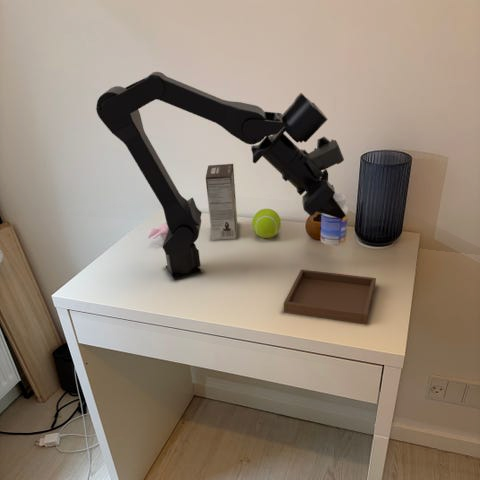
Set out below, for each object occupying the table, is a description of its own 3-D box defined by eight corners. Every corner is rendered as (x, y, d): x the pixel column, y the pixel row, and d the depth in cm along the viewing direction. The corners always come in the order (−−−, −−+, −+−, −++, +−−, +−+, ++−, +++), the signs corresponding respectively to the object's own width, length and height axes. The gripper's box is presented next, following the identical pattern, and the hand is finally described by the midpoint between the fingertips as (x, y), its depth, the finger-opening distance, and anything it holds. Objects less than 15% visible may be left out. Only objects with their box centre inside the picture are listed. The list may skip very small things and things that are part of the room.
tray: (283, 312, 93) (283, 302, 92) (300, 277, 103) (300, 269, 102) (365, 324, 88) (366, 314, 87) (375, 286, 98) (376, 277, 97)
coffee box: (213, 225, 128) (207, 164, 119) (237, 224, 128) (233, 163, 119) (211, 240, 121) (205, 176, 111) (237, 239, 120) (232, 175, 111)
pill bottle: (345, 247, 101) (348, 202, 95) (319, 245, 102) (321, 201, 97) (346, 236, 105) (350, 192, 100) (321, 234, 106) (323, 191, 101)
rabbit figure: (177, 228, 131) (141, 242, 119) (176, 206, 128) (139, 218, 117) (196, 232, 128) (161, 247, 117) (196, 209, 126) (159, 222, 114)
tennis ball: (253, 230, 124) (252, 204, 120) (281, 230, 123) (280, 203, 119) (252, 242, 118) (250, 215, 114) (280, 242, 117) (280, 215, 113)
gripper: (325, 141, 83) (383, 200, 89) (314, 116, 98) (363, 168, 104) (279, 188, 88) (336, 241, 94) (275, 157, 103) (325, 204, 109)
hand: (341, 211), depth 100 cm, fingers closed on pill bottle, 5 cm apart
